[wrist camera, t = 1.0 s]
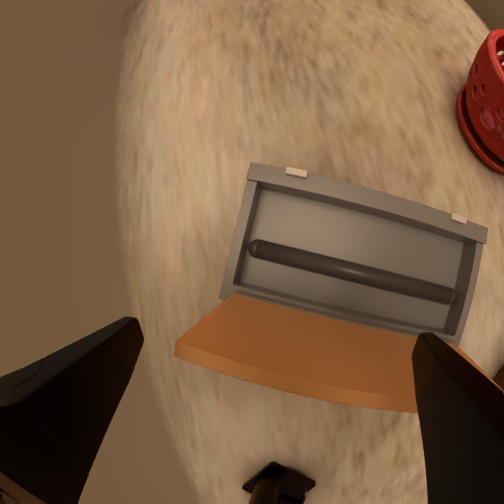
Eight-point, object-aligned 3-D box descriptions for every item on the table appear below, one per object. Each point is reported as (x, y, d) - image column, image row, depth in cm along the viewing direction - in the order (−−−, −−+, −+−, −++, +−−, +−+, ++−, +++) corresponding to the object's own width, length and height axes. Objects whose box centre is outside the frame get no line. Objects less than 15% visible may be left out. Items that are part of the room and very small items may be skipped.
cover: (451, 339, 19) (447, 350, 19) (236, 289, 22) (233, 301, 22) (514, 400, 9) (506, 415, 9) (176, 339, 12) (173, 357, 12)
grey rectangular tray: (440, 342, 23) (461, 355, 18) (230, 292, 26) (215, 300, 22) (466, 231, 22) (491, 227, 18) (258, 175, 26) (249, 159, 22)
